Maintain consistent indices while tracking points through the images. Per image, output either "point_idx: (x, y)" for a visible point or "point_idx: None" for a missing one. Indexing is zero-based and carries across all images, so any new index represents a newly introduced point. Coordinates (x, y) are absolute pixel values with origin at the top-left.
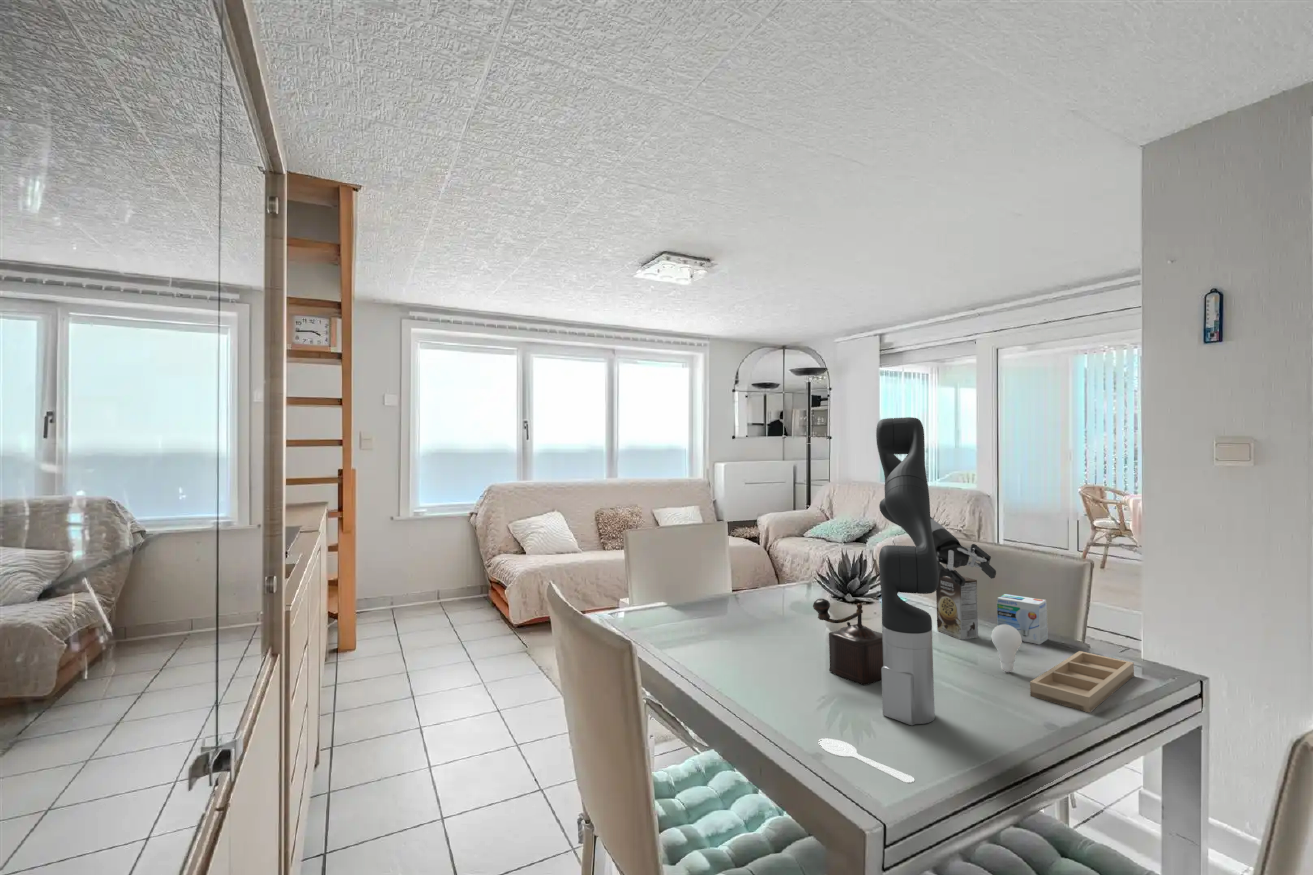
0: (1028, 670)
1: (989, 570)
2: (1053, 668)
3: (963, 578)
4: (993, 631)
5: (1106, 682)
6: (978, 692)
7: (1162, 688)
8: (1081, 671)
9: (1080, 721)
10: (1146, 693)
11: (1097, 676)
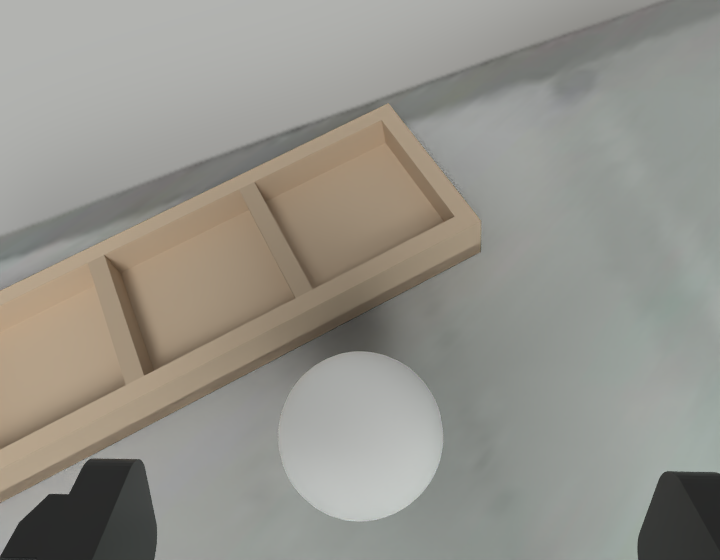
0: (274, 482)
1: (117, 543)
2: (272, 322)
3: (695, 486)
4: (427, 446)
5: (220, 187)
6: (665, 306)
7: (11, 249)
8: (142, 348)
9: (466, 100)
10: (97, 225)
11: (130, 308)
